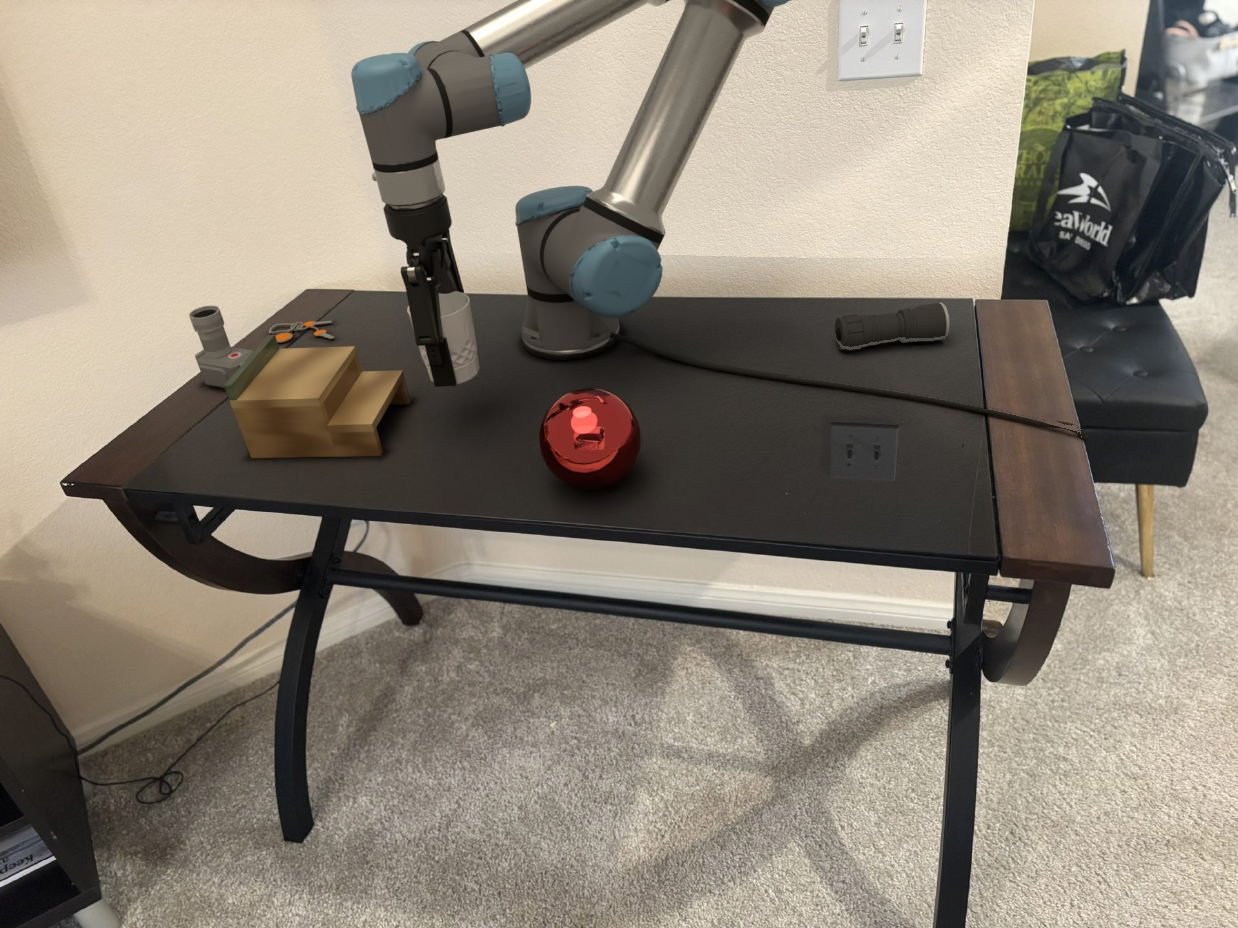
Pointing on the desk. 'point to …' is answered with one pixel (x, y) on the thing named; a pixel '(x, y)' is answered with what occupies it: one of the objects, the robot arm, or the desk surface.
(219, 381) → the camera
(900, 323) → the flashlight
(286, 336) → the key chain
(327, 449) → the shelf stand
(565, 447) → the ball
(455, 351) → the white cup
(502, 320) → the desk surface
